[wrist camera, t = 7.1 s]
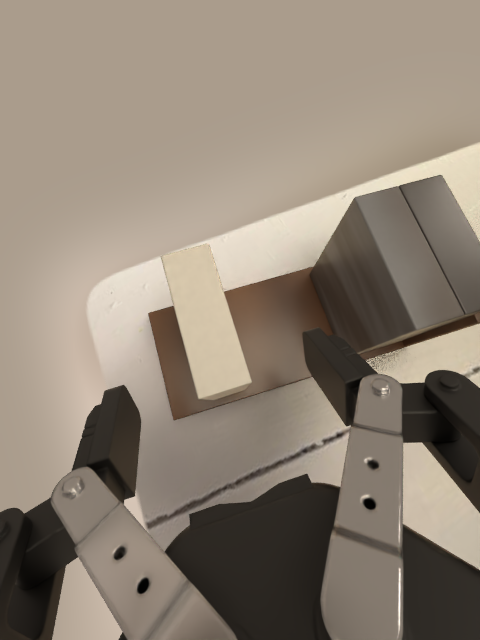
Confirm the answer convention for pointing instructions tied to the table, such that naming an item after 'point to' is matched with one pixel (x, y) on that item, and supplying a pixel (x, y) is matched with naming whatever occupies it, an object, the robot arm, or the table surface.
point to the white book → (205, 323)
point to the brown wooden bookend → (348, 293)
